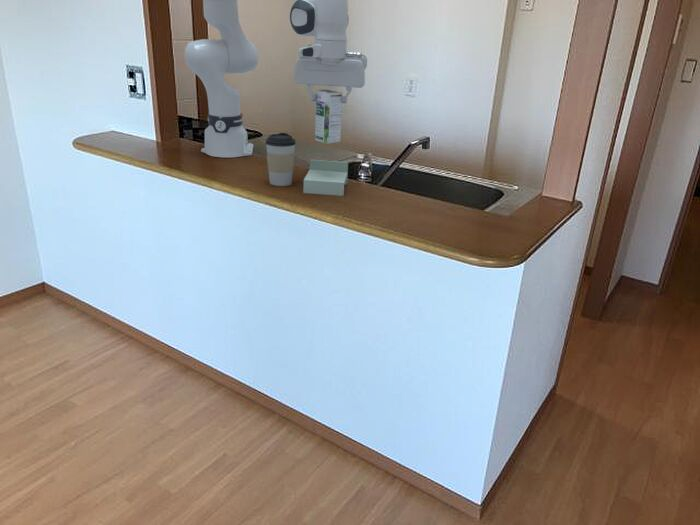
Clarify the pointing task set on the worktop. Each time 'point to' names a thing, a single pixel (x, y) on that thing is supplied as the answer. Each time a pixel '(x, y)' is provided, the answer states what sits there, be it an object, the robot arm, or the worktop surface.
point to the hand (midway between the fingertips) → (328, 101)
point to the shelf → (326, 177)
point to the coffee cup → (280, 158)
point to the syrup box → (328, 116)
